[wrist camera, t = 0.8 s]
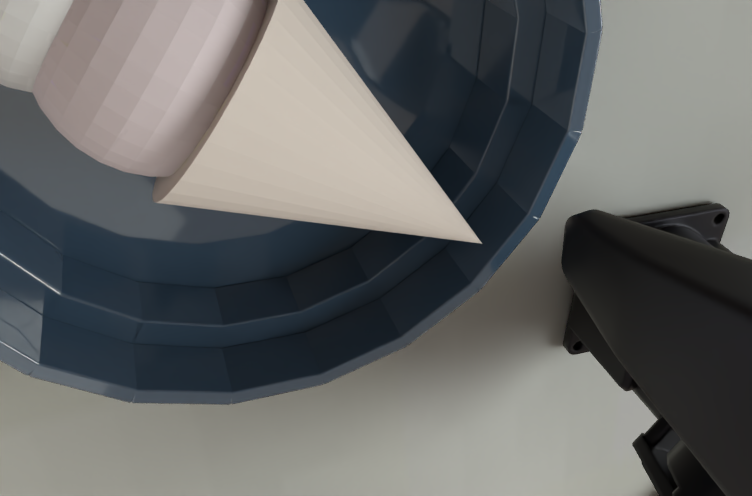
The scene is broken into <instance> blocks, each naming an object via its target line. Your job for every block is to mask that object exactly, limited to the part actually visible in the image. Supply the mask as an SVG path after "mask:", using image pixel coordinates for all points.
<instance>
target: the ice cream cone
mask: <svg viewBox="0 0 752 496" xmlns="http://www.w3.org/2000/svg"><path fill="white" fill-rule="evenodd" d="M0 84H1V85H4V86H6V87H9V88H13V89H18V90H22V91H27V92H33V94H34V96H35V98H36V100H37V103H38V105H39V107H40V108H41V110H42V111H43V112H44V114H45V115H46V116H47V118H48V119H49V120H50V121H51V123H52V124H53V125H54V127H55V128H56V129H57V130H58V131H59V132H60V133H61V134H62V135H63V136H64V137H65V138H66V139H67V140H69V141H70V142H71V143H72V144H73V145H74V146H75V147H76V148H78V149H79V150H81V151H82V152H84V153H86V154H87V155H89V156H91V157H92V158H94V159H95V160H97V161H99V162H100V163H103V164H106V165H108V166H111V167H113V168H116V169H118V170H121V171H123V172H128V173H133V174H138V175H143V176H149V177H157V178H156V181H155V184H154V189H153V194H152V196H153V201H154V202H155V203H162V204H170V205H178V206H186V207H194V208H202V209H210V210H218V211H226V212H234V213H242V214H250V215H258V216H266V217H274V218H282V219H290V220H298V221H306V222H314V223H322V224H330V225H338V226H346V227H354V228H362V229H369V230H377V231H385V232H393V233H401V234H409V235H417V236H425V237H433V238H441V239H449V240H457V241H465V242H473V243H481V241H480V240H479V239H478V237H477V236H476V234H475V233H474V232H473V230H472V229H471V228H470V226H469V225H468V224H467V222H466V221H465V219H464V218H463V217H462V215H461V214H460V213H459V211H458V210H457V209H456V207H455V206H454V204H453V203H452V202H451V200H450V199H449V198H448V196H447V195H446V194H445V192H444V191H443V190H442V188H441V187H440V185H439V184H438V183H437V181H436V180H435V179H434V177H433V176H432V175H431V173H430V172H429V170H428V169H427V168H426V166H425V165H424V164H423V162H422V161H421V160H420V158H419V157H418V155H417V154H416V153H415V151H414V150H413V149H412V147H411V146H410V145H409V143H408V142H407V141H406V139H405V138H404V136H403V135H402V134H401V132H400V131H399V130H398V128H397V127H396V126H395V124H394V123H393V121H392V120H391V119H390V117H389V116H388V115H387V113H386V112H385V111H384V109H383V108H382V106H381V105H380V104H379V102H378V101H377V100H376V98H375V97H374V96H373V94H372V93H371V92H370V90H369V89H368V87H367V86H366V85H365V83H364V82H363V81H362V79H361V78H360V77H359V75H358V74H357V72H356V71H355V70H354V68H353V67H352V66H351V64H350V63H349V62H348V60H347V59H346V57H345V56H344V55H343V53H342V52H341V51H340V49H339V48H338V47H337V45H336V44H335V43H334V41H333V40H332V38H331V37H330V36H329V34H328V33H327V32H326V30H325V29H324V28H323V26H322V25H321V23H320V22H319V21H318V19H317V18H316V17H315V15H314V14H313V13H312V11H311V10H310V8H309V7H308V6H307V4H306V3H305V2H304V0H0ZM481 244H482V243H481Z"/></svg>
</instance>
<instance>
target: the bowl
mask: <svg viewBox="0 0 752 496" xmlns="http://www.w3.org/2000/svg"><path fill="white" fill-rule="evenodd" d="M304 2H305V3H306V4H307V6H308V7H309V8H310V10H311V11H312V13H313V14H314V15H315V17H316V18H317V19H318V21H319V22H320V23H321V25H322V26H323V28H324V29H325V30H326V32H327V33H328V34H329V36H330V37H331V38H332V40H333V41H334V43H335V44H336V45H337V47H338V48H339V49H340V51H341V52H342V53H343V55H344V56H345V57H346V59H347V60H348V62H349V63H350V64H351V66H352V67H353V68H354V70H355V71H356V72H357V74H358V75H359V77H360V78H361V79H362V81H363V82H364V83H365V85H366V86H367V87H368V89H369V90H370V92H371V93H372V94H373V96H374V97H375V98H376V100H377V101H378V102H379V104H380V105H381V106H382V108H383V109H384V111H385V112H386V113H387V115H388V116H389V117H390V119H391V120H392V121H393V123H394V124H395V126H396V127H397V128H398V130H399V131H400V132H401V134H402V135H403V136H404V138H405V139H406V141H407V142H408V143H409V145H410V146H411V147H412V149H413V150H414V151H415V153H416V154H417V155H418V157H419V158H420V160H421V161H422V162H423V164H424V165H425V166H426V168H427V169H428V170H429V172H430V173H431V175H432V176H433V177H434V179H435V180H436V181H437V183H438V184H439V185H440V187H441V188H442V190H443V191H444V192H445V194H446V195H447V196H448V198H449V199H450V200H451V202H452V203H453V204H454V206H455V207H456V209H457V210H458V211H459V213H460V214H461V215H462V217H463V218H464V219H465V221H466V222H467V224H468V225H469V226H470V228H471V229H472V230H473V232H474V233H475V234H476V236H477V237H478V239H479V240H480V241H481V243H482V244H481V243H473V242H465V241H457V240H449V239H441V238H433V237H425V236H417V235H409V234H401V233H393V232H385V231H377V230H369V229H362V228H354V227H346V226H338V225H330V224H322V223H314V222H306V221H298V220H290V219H282V218H274V217H266V216H258V215H250V214H242V213H234V212H226V211H218V210H210V209H202V208H194V207H186V206H178V205H170V204H162V203H155V202H154V201H153V196H152V194H153V189H154V184H155V181H156V178H157V177H149V176H143V175H138V174H133V173H128V172H123V171H121V170H118V169H116V168H113V167H111V166H108V165H106V164H103V163H100V162H99V161H97V160H95V159H94V158H92V157H91V156H89V155H87V154H86V153H84V152H82V151H81V150H79V149H78V148H76V147H75V146H74V145H73V144H72V143H71V142H70V141H69V140H67V139H66V138H65V137H64V136H63V135H62V134H61V133H60V132H59V131H58V130H57V129H56V128H55V127H54V125H53V124H52V123H51V121H50V120H49V119H48V118H47V116H46V115H45V114H44V112H43V111H42V110H41V108H40V107H39V105H38V103H37V100H36V98H35V96H34V94H33V92H27V91H22V90H18V89H13V88H9V87H6V86H4V85H1V84H0V361H2V362H4V363H5V364H7V365H9V366H11V367H12V368H14V369H16V370H18V371H19V372H21V373H23V374H25V375H29V376H30V377H33V378H37V379H41V380H44V381H48V382H52V383H56V384H60V385H64V386H67V387H71V388H75V389H79V390H83V391H87V392H91V393H94V394H98V395H102V396H106V397H110V398H114V399H117V400H121V401H125V402H129V403H130V402H132V403H158V404H227V405H229V404H236V403H241V402H245V401H250V400H255V399H259V398H264V397H269V396H273V395H278V394H283V393H287V392H292V391H297V390H301V389H306V388H311V387H315V386H320V385H323V384H326V383H329V382H331V381H333V380H335V379H337V378H339V377H342V376H344V375H346V374H348V373H350V372H352V371H355V370H357V369H359V368H361V367H363V366H365V365H368V364H370V363H372V362H374V361H376V360H378V359H381V358H383V357H385V356H387V355H389V354H391V353H394V352H396V351H398V350H400V349H402V348H404V347H406V346H407V345H409V344H411V343H412V342H413V341H415V340H416V339H417V338H419V337H420V336H421V335H422V334H424V333H425V332H426V331H428V330H429V329H430V328H432V327H433V326H434V325H436V324H437V323H438V322H439V321H441V320H442V319H443V318H445V317H446V316H447V315H449V314H450V313H451V312H453V311H454V310H455V309H457V308H458V307H459V306H460V305H462V304H463V303H464V302H466V301H467V300H468V299H470V298H471V297H472V296H474V295H475V294H476V293H477V292H479V290H481V289H482V288H483V286H484V285H485V284H486V283H487V282H488V280H489V279H490V278H491V277H492V276H493V274H494V273H495V272H496V271H497V270H498V268H499V267H500V266H501V265H502V264H503V262H504V261H505V260H506V259H507V257H508V256H509V255H510V254H511V253H512V251H513V250H514V249H515V248H516V247H517V245H518V244H519V243H520V242H521V241H522V239H523V238H524V237H525V236H526V235H527V233H528V232H529V231H530V230H531V229H532V227H533V226H534V225H535V224H536V223H537V221H538V220H539V218H540V217H541V215H542V213H543V211H544V209H545V207H546V205H547V203H548V201H549V199H550V197H551V195H552V193H553V191H554V189H555V186H556V184H557V182H558V180H559V178H560V176H561V174H562V172H563V170H564V168H565V166H566V164H567V162H568V160H569V158H570V156H571V154H572V152H573V150H574V148H575V146H576V144H577V141H578V139H579V137H580V135H581V133H582V130H583V126H584V121H585V116H586V111H587V106H588V101H589V96H590V91H591V86H592V81H593V76H594V71H595V66H596V61H597V56H598V51H599V46H600V41H601V36H602V28H603V25H602V12H601V0H304Z"/></svg>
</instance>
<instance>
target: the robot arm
mask: <svg viewBox="0 0 752 496" xmlns="http://www.w3.org/2000/svg"><path fill="white" fill-rule="evenodd" d="M728 218H729V210H728V209H726V208H725V207H724V206H722V205H721V204H718V203H715V204H709V205H703V206H698V207H692V208H686V209H680V210H674V211H668V212H662V213H656V214H650V215H644V216H638V217H632V218H627V219H624V218H621V217H618V216H615V215H612V214H609V213H606V212H603V211H600V210H588V211H585V212H582V213H579V214H576V215H573V216H571V217H570V218H569V219H568V220H567V222H566V224H565V232H564V241H563V250H562V269H563V272H564V274H565V277H566V278H567V280H568V282H569V283H570V285H571V286H572V288H573V290H574V291H575V292H574V297H573V301H572V306H571V310H570V314H569V319H568V323H567V328H566V332H565V337H564V341H563V346H564V347H565V348H566V350H567V351H568V352H569V353H570V354H572V355H574V354H580V353H584V352H589V351H590V352H591V353H592V355H593V356H594V357H595V358H596V359H597V360H598V362H599V363H600V364H601V365H602V366H603V367H604V369H605V370H606V371H607V372H608V373H609V375H610V376H611V377H612V378H613V379H614V380H615V382H616V383H617V384H618V385H619V386H620V387H621V388H622V389H624V390H625V391H630V390H633V391H634V392H635V394H636V395H637V396H638V397H639V398H640V399H641V400H642V402H643V403H644V404H645V405H646V406H647V407H648V408H649V410H650V411H651V412H652V413H653V414H654V415H655V417H656V418H657V419H658V420H657V421H656V422H655V423H654V424H653V425H652V426H651V428H650V429H649V430H648V431H647V432H646V433H645V434H644V433H641V435H640V436H639V437H638V438H637V439H636V440H635V441H634V442H633V443H632V444H633V447H634V448H635V450H636V452H637V454H638V456H639V457H640V459H641V461H642V465H643V467H644V469H645V471H646V473H647V474H648V476H649V478H650V480H651V481H652V483H653V485H654V487H655V489H656V490H657V492H658V494H659V496H752V260H751V259H748V258H745V257H742V256H739V255H736V254H733V253H732V252H731V251H729V250H728V249H727V248H726V247H724V246H723V245H722V244H720V241H721V238H722V235H723V232H724V229H725V227H726V224H727V221H728Z"/></svg>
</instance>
